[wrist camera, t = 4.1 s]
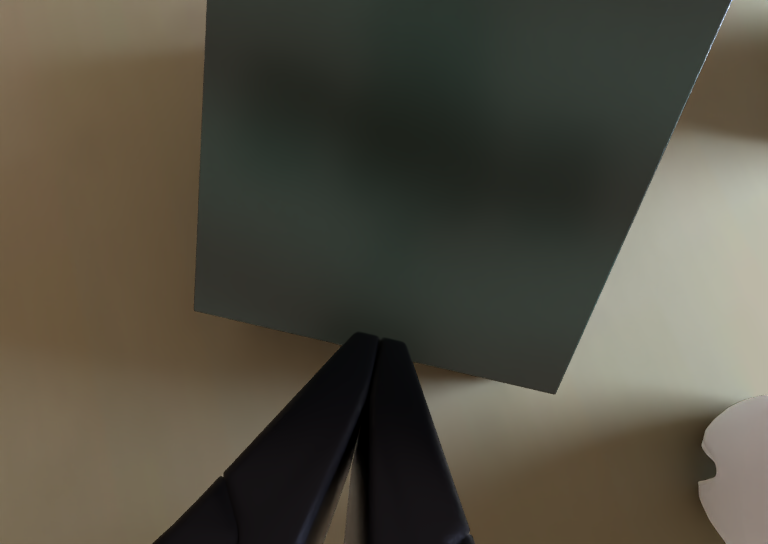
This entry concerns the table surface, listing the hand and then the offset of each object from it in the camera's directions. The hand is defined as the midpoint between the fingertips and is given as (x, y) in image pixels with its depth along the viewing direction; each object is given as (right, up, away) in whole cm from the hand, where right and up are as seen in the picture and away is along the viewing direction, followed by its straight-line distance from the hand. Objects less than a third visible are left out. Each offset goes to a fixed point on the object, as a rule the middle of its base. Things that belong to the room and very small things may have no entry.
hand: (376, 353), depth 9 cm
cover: (+1, +5, +5) cm, 7 cm away
